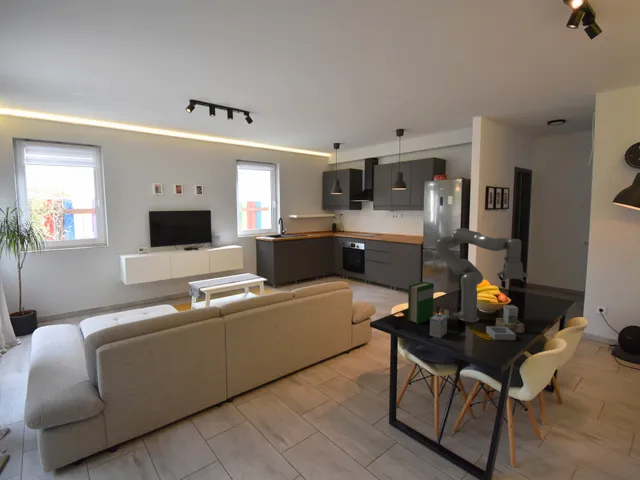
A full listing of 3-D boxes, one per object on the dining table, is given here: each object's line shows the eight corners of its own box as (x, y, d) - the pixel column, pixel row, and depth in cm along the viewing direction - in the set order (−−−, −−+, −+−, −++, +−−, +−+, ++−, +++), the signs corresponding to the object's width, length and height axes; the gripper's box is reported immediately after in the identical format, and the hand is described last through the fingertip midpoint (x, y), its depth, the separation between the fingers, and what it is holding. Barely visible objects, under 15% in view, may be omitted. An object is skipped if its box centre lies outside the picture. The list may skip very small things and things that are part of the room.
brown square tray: (504, 332, 199) (504, 324, 199) (495, 325, 210) (496, 317, 210) (524, 332, 198) (524, 324, 198) (514, 326, 210) (515, 318, 209)
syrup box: (511, 327, 207) (512, 304, 206) (517, 330, 201) (518, 307, 200) (502, 327, 207) (503, 304, 206) (507, 331, 201) (509, 307, 200)
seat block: (494, 339, 188) (494, 333, 188) (486, 332, 200) (486, 326, 199) (515, 340, 187) (515, 334, 187) (506, 332, 199) (506, 326, 198)
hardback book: (417, 324, 214) (418, 287, 212) (407, 321, 220) (408, 285, 217) (432, 318, 225) (433, 283, 223) (423, 315, 231) (424, 281, 228)
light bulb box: (435, 330, 203) (436, 313, 202) (447, 332, 199) (447, 315, 198) (429, 335, 195) (429, 317, 194) (440, 338, 191) (441, 320, 190)
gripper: (501, 260, 197) (499, 288, 199) (531, 260, 196) (530, 289, 197) (495, 258, 204) (494, 285, 206) (524, 258, 203) (523, 286, 205)
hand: (511, 287), depth 202 cm, fingers open, 9 cm apart
